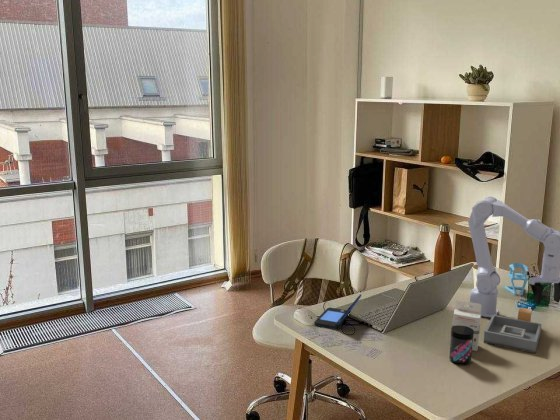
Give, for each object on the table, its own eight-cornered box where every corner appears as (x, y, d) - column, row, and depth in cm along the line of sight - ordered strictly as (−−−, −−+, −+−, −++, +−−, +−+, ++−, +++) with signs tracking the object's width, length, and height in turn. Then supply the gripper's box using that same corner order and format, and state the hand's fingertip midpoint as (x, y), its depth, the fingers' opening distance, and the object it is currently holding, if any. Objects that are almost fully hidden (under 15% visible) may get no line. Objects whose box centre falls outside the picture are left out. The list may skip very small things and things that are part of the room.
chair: (508, 294, 232) (511, 267, 229) (504, 287, 240) (507, 261, 237) (528, 296, 231) (531, 268, 228) (523, 288, 239) (526, 261, 236)
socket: (500, 337, 191) (500, 332, 190) (503, 330, 197) (503, 324, 196) (522, 342, 188) (522, 337, 187) (524, 334, 193) (525, 329, 193)
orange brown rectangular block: (516, 326, 202) (518, 311, 200) (518, 322, 205) (519, 307, 204) (528, 329, 200) (530, 313, 198) (530, 325, 203) (531, 309, 202)
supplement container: (444, 360, 177) (447, 330, 175) (454, 353, 182) (457, 323, 179) (465, 368, 172) (468, 336, 170) (474, 360, 177) (477, 329, 175)
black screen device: (328, 310, 217) (328, 287, 214) (361, 316, 211) (362, 293, 209) (313, 326, 203) (313, 301, 201) (348, 332, 197) (349, 308, 195)
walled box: (483, 342, 189) (484, 331, 189) (491, 325, 203) (492, 314, 202) (535, 353, 182) (536, 342, 181) (540, 334, 195) (541, 323, 194)
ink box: (449, 346, 186) (453, 304, 183) (452, 340, 191) (455, 299, 187) (477, 351, 183) (480, 309, 180) (478, 345, 187) (482, 303, 184)
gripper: (539, 270, 191) (535, 307, 194) (577, 268, 194) (572, 305, 197) (527, 263, 198) (523, 300, 201) (564, 261, 200) (559, 297, 203)
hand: (546, 302), depth 199 cm, fingers open, 7 cm apart
